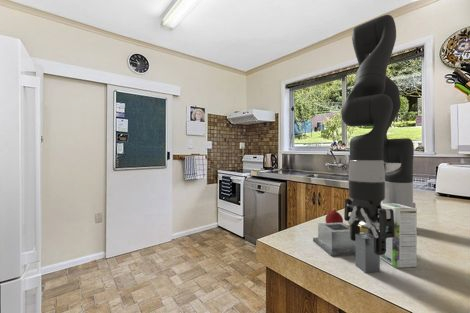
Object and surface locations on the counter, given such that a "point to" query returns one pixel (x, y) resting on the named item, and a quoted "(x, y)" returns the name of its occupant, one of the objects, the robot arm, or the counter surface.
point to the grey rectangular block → (366, 253)
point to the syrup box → (402, 237)
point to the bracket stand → (338, 238)
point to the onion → (334, 217)
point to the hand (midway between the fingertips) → (366, 246)
